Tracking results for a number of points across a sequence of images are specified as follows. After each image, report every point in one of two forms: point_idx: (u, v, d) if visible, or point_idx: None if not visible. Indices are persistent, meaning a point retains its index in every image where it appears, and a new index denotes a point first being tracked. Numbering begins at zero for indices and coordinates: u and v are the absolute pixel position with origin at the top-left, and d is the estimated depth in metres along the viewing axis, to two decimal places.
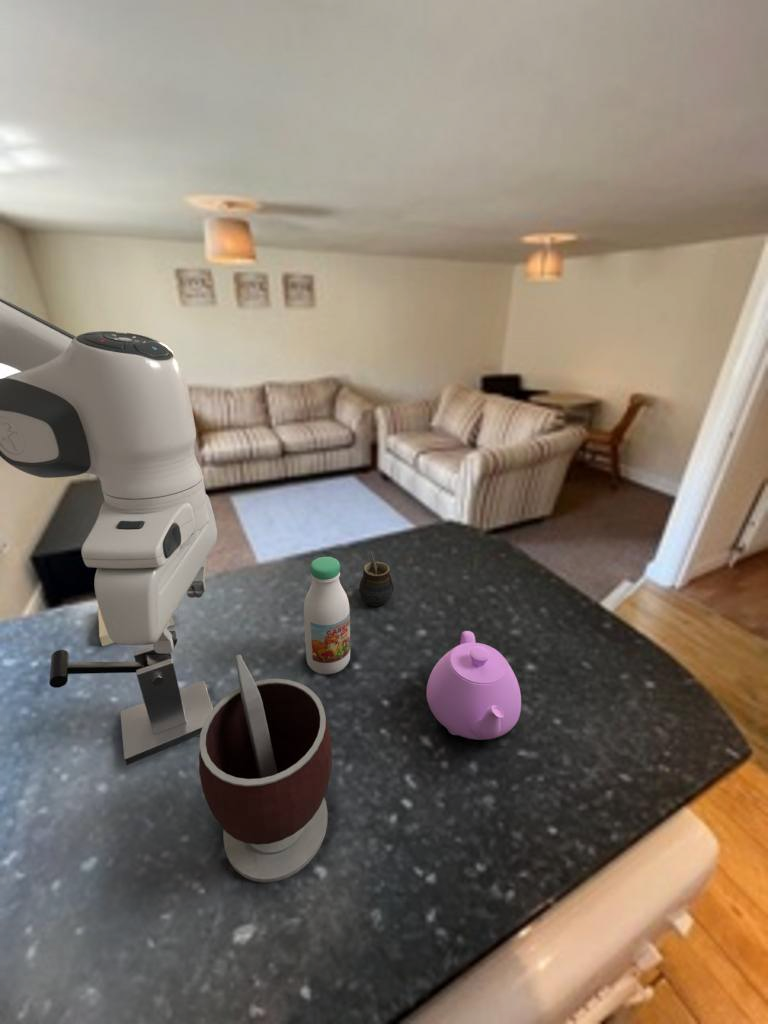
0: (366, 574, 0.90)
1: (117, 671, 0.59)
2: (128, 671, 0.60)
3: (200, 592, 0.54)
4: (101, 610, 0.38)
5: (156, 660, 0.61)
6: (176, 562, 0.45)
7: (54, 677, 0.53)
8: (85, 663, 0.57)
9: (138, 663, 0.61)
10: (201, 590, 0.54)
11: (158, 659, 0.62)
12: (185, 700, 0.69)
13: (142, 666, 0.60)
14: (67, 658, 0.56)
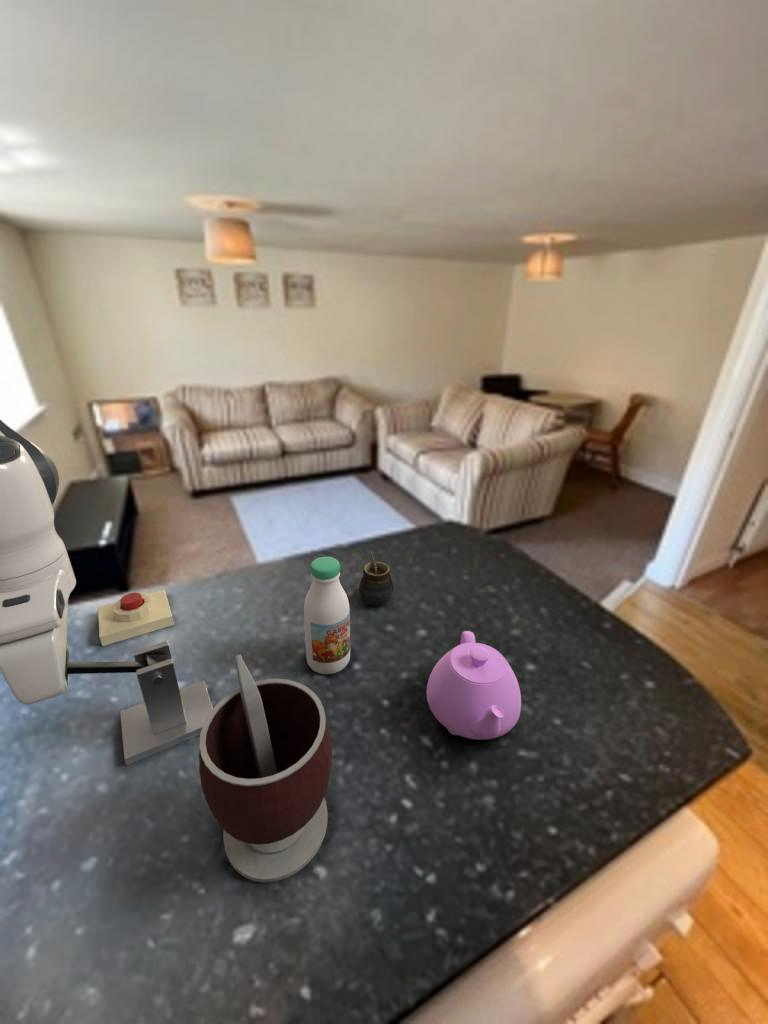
0: (366, 574, 0.90)
1: (117, 671, 0.59)
2: (128, 671, 0.60)
3: None
4: (8, 679, 0.43)
5: (156, 660, 0.61)
6: None
7: None
8: (85, 663, 0.57)
9: (138, 663, 0.61)
10: None
11: (158, 659, 0.62)
12: (185, 700, 0.69)
13: (142, 666, 0.60)
14: (67, 658, 0.56)
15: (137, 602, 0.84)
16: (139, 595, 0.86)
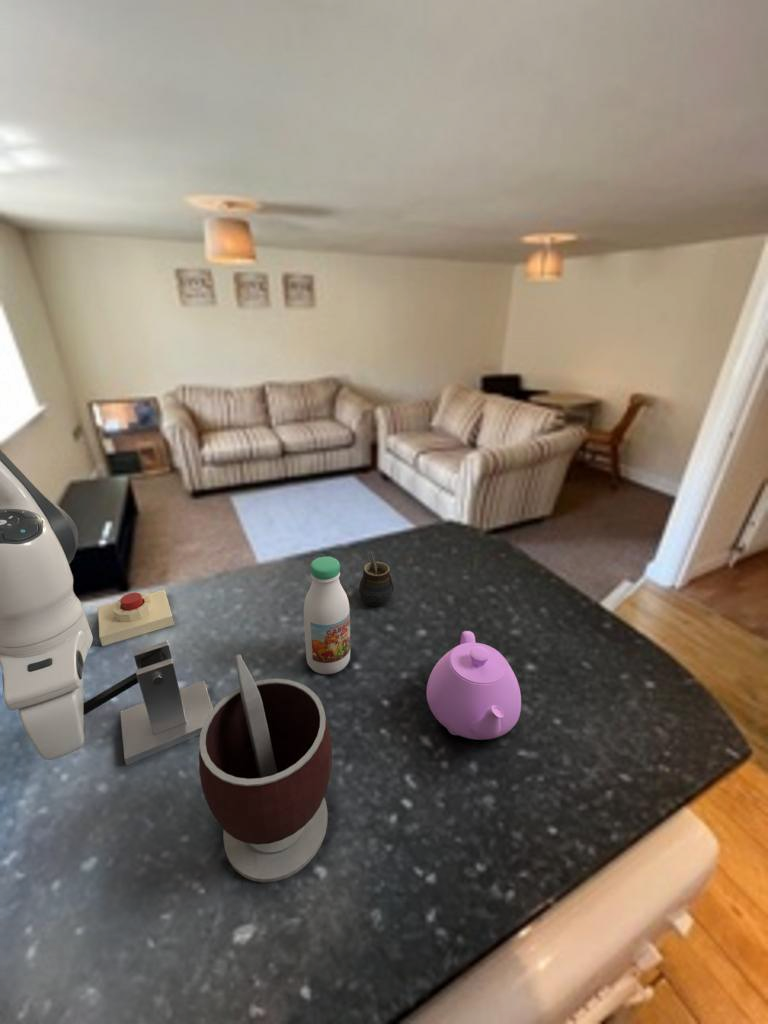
0: (366, 574, 0.90)
1: (123, 690, 0.60)
2: (132, 684, 0.61)
3: (83, 701, 0.61)
4: (33, 739, 0.47)
5: (149, 663, 0.61)
6: None
7: None
8: (91, 700, 0.59)
9: None
10: (83, 700, 0.61)
11: (151, 660, 0.61)
12: (185, 700, 0.69)
13: None
14: None
15: (137, 602, 0.84)
16: (139, 595, 0.86)
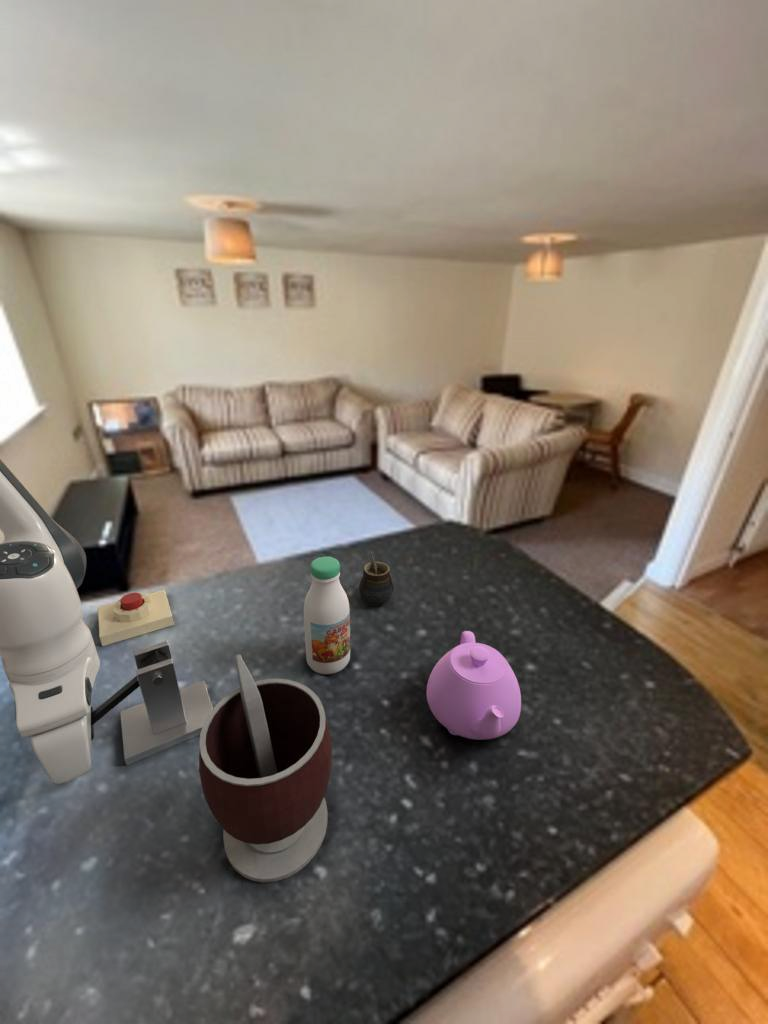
0: (366, 574, 0.90)
1: (128, 693, 0.61)
2: (136, 687, 0.61)
3: None
4: (43, 765, 0.49)
5: (147, 664, 0.61)
6: None
7: None
8: (99, 707, 0.60)
9: None
10: None
11: (149, 661, 0.61)
12: (185, 700, 0.69)
13: None
14: None
15: (137, 602, 0.84)
16: (139, 595, 0.86)
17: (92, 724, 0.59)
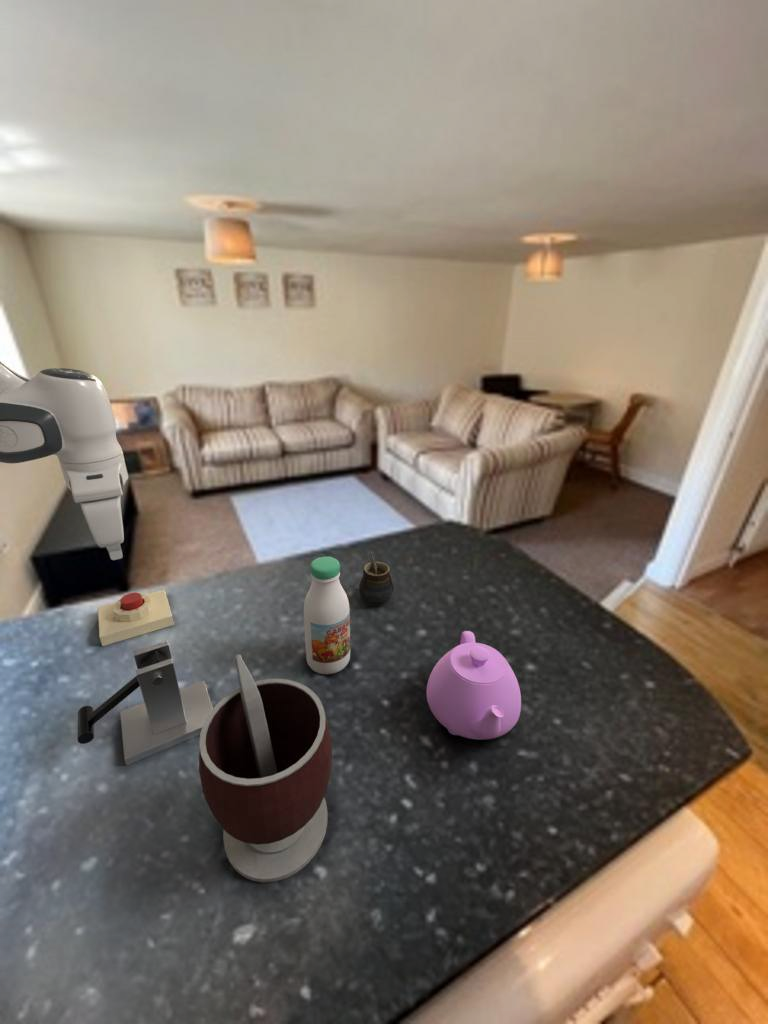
0: (366, 574, 0.90)
1: (128, 693, 0.61)
2: (136, 687, 0.61)
3: None
4: (90, 525, 0.67)
5: (147, 664, 0.61)
6: None
7: (78, 739, 0.57)
8: (99, 707, 0.60)
9: None
10: None
11: (149, 661, 0.61)
12: (185, 700, 0.69)
13: None
14: (86, 712, 0.61)
15: (137, 602, 0.84)
16: (139, 595, 0.86)
17: (92, 724, 0.59)
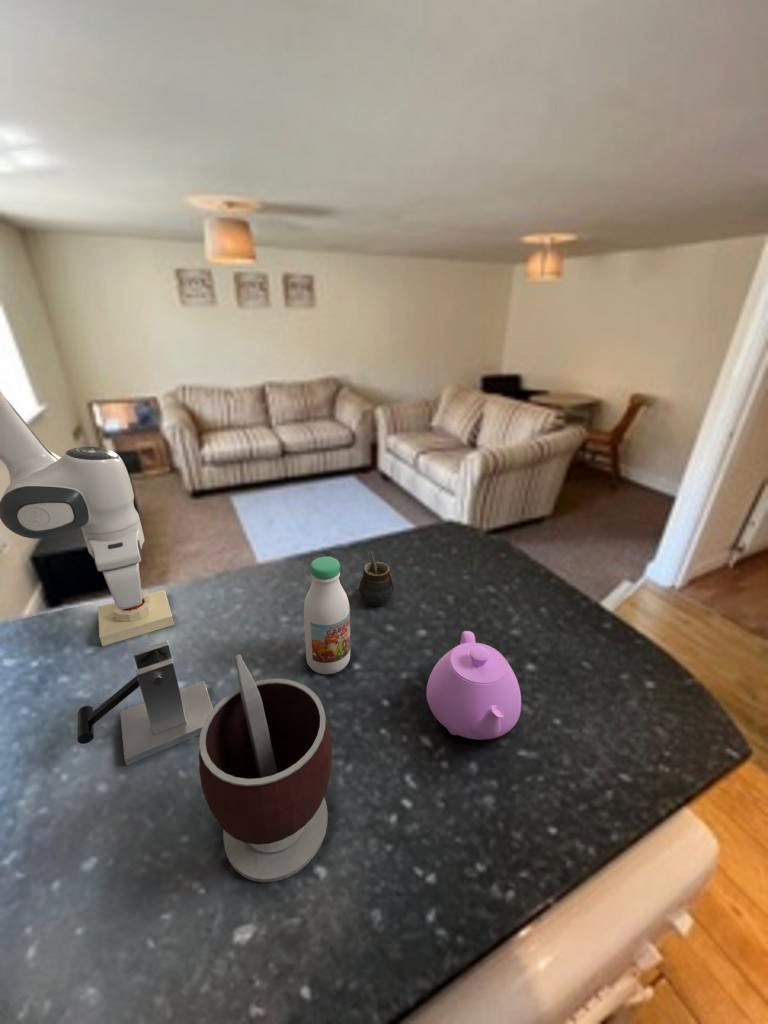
0: (366, 574, 0.90)
1: (128, 693, 0.61)
2: (136, 687, 0.61)
3: None
4: (112, 591, 0.73)
5: (147, 664, 0.61)
6: None
7: (78, 739, 0.57)
8: (99, 707, 0.60)
9: None
10: None
11: (149, 661, 0.61)
12: (185, 700, 0.69)
13: None
14: (86, 712, 0.61)
15: (138, 605, 0.85)
16: None
17: (92, 724, 0.59)
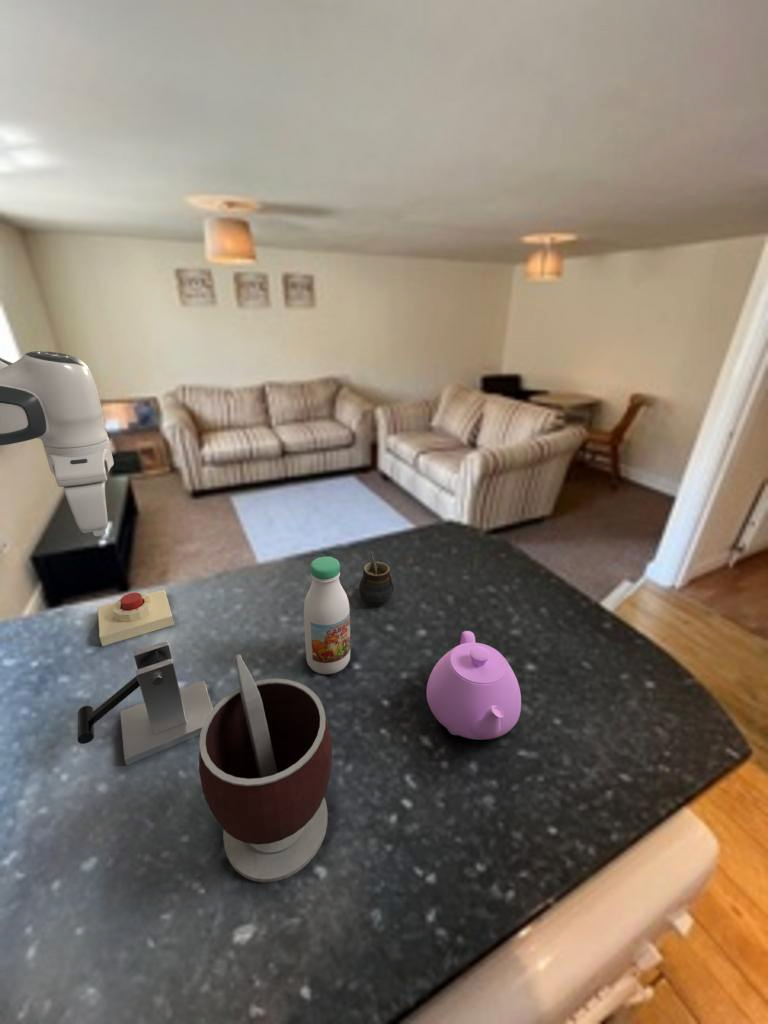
0: (366, 574, 0.90)
1: (128, 693, 0.61)
2: (136, 687, 0.61)
3: None
4: (73, 510, 0.67)
5: (147, 664, 0.61)
6: None
7: (78, 739, 0.57)
8: (99, 707, 0.60)
9: None
10: None
11: (149, 661, 0.61)
12: (185, 700, 0.69)
13: None
14: (86, 712, 0.61)
15: (137, 602, 0.84)
16: (139, 595, 0.86)
17: (92, 724, 0.59)
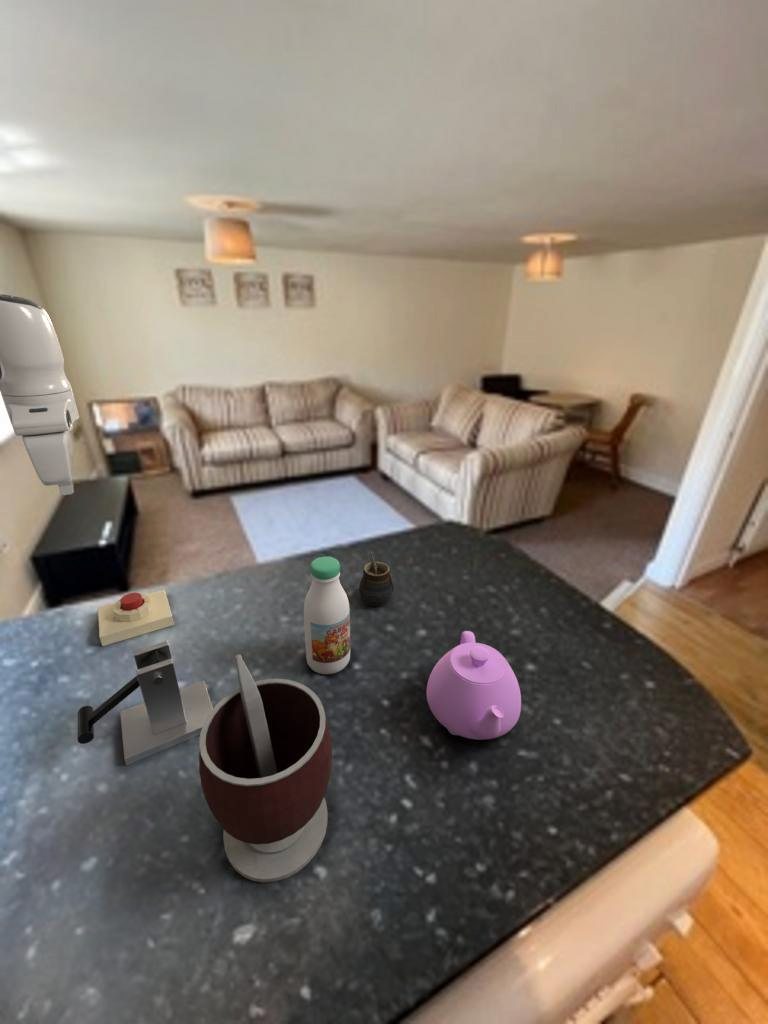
0: (366, 574, 0.90)
1: (128, 693, 0.61)
2: (136, 687, 0.61)
3: None
4: (33, 460, 0.63)
5: (147, 664, 0.61)
6: None
7: (78, 739, 0.57)
8: (99, 707, 0.60)
9: None
10: (72, 485, 0.76)
11: (149, 661, 0.61)
12: (185, 700, 0.69)
13: None
14: (86, 712, 0.61)
15: (137, 602, 0.84)
16: (139, 595, 0.86)
17: (92, 724, 0.59)
